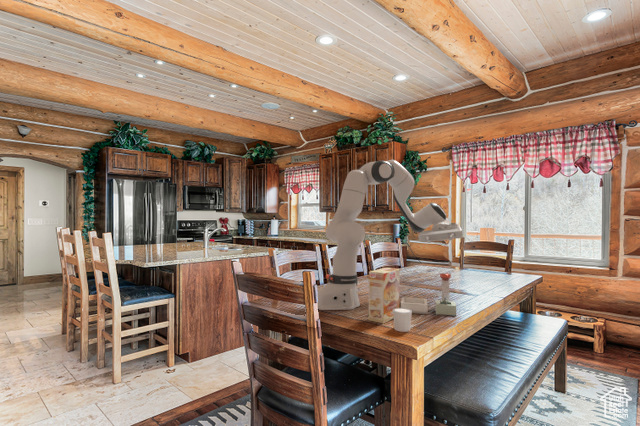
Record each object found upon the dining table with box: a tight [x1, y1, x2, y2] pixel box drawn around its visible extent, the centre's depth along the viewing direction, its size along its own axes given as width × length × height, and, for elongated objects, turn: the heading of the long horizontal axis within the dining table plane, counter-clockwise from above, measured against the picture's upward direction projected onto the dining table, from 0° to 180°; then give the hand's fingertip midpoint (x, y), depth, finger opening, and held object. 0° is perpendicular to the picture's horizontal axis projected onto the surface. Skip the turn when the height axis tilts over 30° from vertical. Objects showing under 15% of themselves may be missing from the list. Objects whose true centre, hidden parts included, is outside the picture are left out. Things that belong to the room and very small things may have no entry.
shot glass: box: [393, 307, 413, 333], centre depth 130 cm, size 7×7×7 cm
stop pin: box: [439, 273, 452, 304], centre depth 153 cm, size 4×4×16 cm
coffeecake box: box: [368, 267, 401, 324], centre depth 144 cm, size 15×7×20 cm, turn 143°
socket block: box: [434, 299, 457, 316], centre depth 153 cm, size 8×8×4 cm
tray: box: [400, 296, 428, 315], centre depth 156 cm, size 11×11×4 cm
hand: (439, 239), depth 164 cm, fingers open, 8 cm apart
